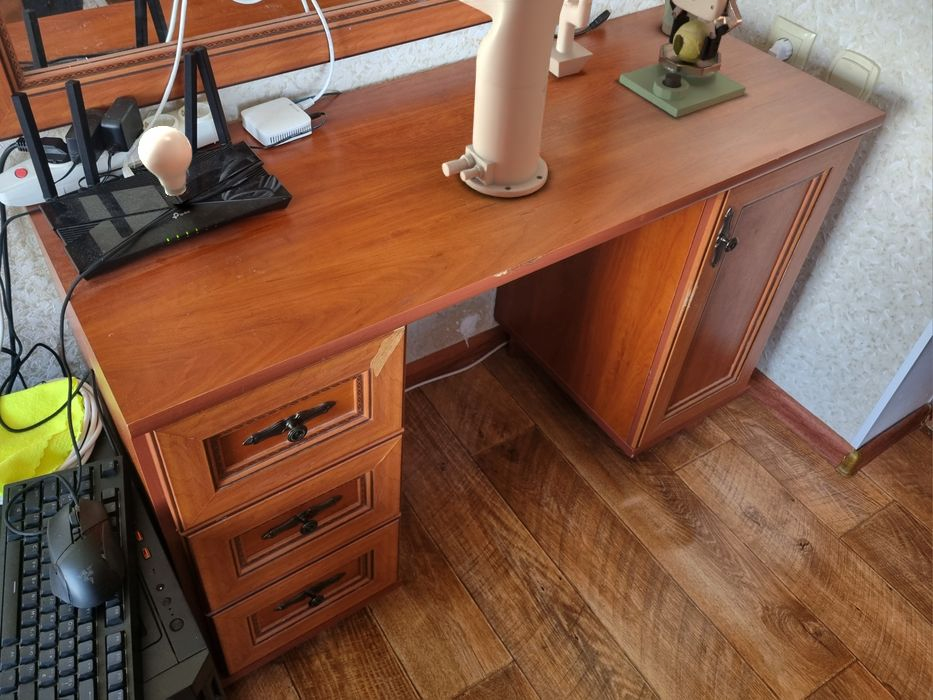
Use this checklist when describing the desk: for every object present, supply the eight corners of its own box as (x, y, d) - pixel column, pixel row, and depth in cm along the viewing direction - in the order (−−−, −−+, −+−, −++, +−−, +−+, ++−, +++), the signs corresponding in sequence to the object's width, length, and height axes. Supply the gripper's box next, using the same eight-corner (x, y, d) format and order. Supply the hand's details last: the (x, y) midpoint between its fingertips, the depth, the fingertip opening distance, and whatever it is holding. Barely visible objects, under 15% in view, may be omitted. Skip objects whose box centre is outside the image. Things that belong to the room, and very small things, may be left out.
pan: (688, 83, 130) (690, 72, 128) (646, 58, 135) (648, 48, 134) (730, 69, 134) (733, 59, 132) (688, 46, 140) (690, 36, 138)
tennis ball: (699, 51, 137) (709, 13, 132) (714, 69, 132) (725, 30, 127) (665, 53, 136) (673, 14, 131) (678, 71, 131) (688, 31, 126)
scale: (675, 117, 127) (680, 100, 125) (619, 82, 135) (622, 65, 133) (743, 94, 134) (748, 78, 132) (685, 61, 142) (689, 45, 140)
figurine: (562, 54, 142) (574, -32, 131) (594, 77, 136) (608, -12, 126) (529, 62, 139) (538, -26, 128) (559, 85, 134) (571, -5, 123)
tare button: (671, 90, 128) (673, 81, 127) (660, 84, 130) (662, 75, 129) (682, 86, 129) (684, 78, 128) (671, 80, 131) (673, 71, 130)
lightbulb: (145, 201, 105) (123, 127, 98) (188, 184, 109) (169, 111, 101) (170, 222, 102) (149, 148, 95) (212, 204, 106) (196, 131, 98)
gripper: (663, -77, 123) (640, 35, 136) (745, -41, 114) (713, 76, 126) (697, -84, 126) (672, 26, 139) (780, -50, 117) (745, 65, 129)
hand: (691, 49), depth 133 cm, fingers open, 6 cm apart
